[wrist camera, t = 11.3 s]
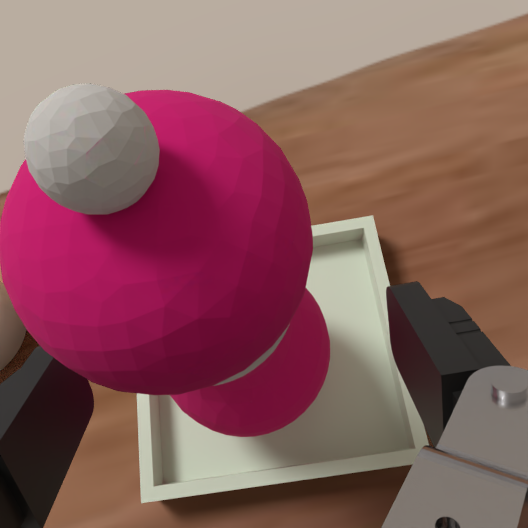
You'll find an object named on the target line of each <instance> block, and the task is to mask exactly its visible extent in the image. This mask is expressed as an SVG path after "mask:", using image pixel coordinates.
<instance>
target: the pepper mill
mask: <svg viewBox="0 0 528 528" xmlns="http://www.w3.org/2000/svg"><path fill="white" fill-rule="evenodd" d="M24 149H25V157H26V160H25V161H24V162H23V164H22V165H21V167H20V169H19V171H18V174H17V176H16V178H15V180H14V182H13V184H12V187H11V189H10V191H9V193H8V195H7V198H6V201H5V205H4V209H3V213H2V217H1V223H0V264H1V271H2V278H3V283H4V286H5V288H6V290H7V293H8V295H9V297H10V300H11V302H12V304H13V307H14V309H15V311H16V313H17V314H18V316H19V318H20V319H21V321H22V323H23V324H24V326H25V328H26V329H27V331H28V332H29V333H30V334H31V336H32V337H33V338H34V339H35V340H36V341H37V343H38V344H39V345H40V346H41V347H42V348H43V350H44V351H46V352H47V353H48V354H50V355H51V356H52V357H54V358H55V359H56V360H58V361H59V362H60V363H62V364H63V365H65V366H66V367H67V368H69V369H71V370H73V371H74V372H76V373H78V374H79V375H81V376H83V377H85V378H86V379H88V380H90V381H91V382H93V383H96V384H99V385H102V386H105V387H108V388H111V389H113V390H116V391H122V392H130V393H139V394H148V395H170V396H171V397H172V398H173V400H174V401H175V402H176V404H177V405H178V406H179V407H180V409H181V410H182V411H183V412H184V413H186V414H187V415H188V416H190V417H191V418H192V419H193V420H195V421H196V422H198V423H199V424H201V425H203V426H205V427H207V428H208V429H210V430H212V431H215V432H218V433H221V434H224V435H229V436H236V437H255V436H259V435H264V434H269V433H271V432H274V431H276V430H279V429H281V428H283V427H285V426H287V425H288V424H290V423H292V422H293V421H295V420H296V419H297V418H298V417H299V416H300V415H302V414H303V413H304V412H305V411H306V410H307V409H308V407H309V406H310V405H311V404H312V403H313V401H314V400H315V399H316V397H317V395H318V393H319V392H320V390H321V388H322V386H323V384H324V381H325V378H326V375H327V372H328V367H329V361H330V338H329V334H328V329H327V325H326V322H325V319H324V316H323V314H322V311H321V309H320V306H319V305H318V303H317V302H316V300H315V298H314V297H313V295H312V294H311V293H310V292H309V291H308V290H307V288H306V283H307V278H308V273H309V268H310V263H311V257H312V252H313V234H312V227H311V221H310V215H309V209H308V204H307V200H306V197H305V194H304V191H303V189H302V186H301V183H300V181H299V178H298V177H297V175H296V173H295V172H294V170H293V168H292V167H291V165H290V163H289V162H288V160H287V158H286V157H285V155H284V153H283V152H282V150H281V148H280V147H279V146H278V145H277V144H276V143H275V142H274V141H273V140H272V139H271V138H270V137H269V136H268V135H267V134H266V133H265V132H264V131H263V130H262V129H261V128H260V127H259V126H258V125H257V124H256V123H255V122H253V121H252V120H251V119H249V118H248V117H246V116H245V115H244V114H242V113H241V112H239V111H238V110H236V109H234V108H233V107H230V106H228V105H226V104H224V103H222V102H220V101H216V100H213V99H210V98H206V97H202V96H199V95H196V94H193V93H189V92H180V91H171V90H146V91H137V92H131V93H125V94H123V93H121V92H118V91H116V90H114V89H112V88H109V87H105V86H100V85H96V84H91V83H90V84H73V85H70V86H67V87H64V88H61V89H58V90H56V91H55V92H53V93H52V94H51V95H50V96H48V97H47V98H46V99H45V100H43V101H42V102H41V103H40V104H38V105H37V107H36V108H35V110H34V111H33V113H32V114H31V116H30V119H29V122H28V125H27V128H26V131H25V134H24Z"/></svg>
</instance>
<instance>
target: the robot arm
mask: <svg viewBox="0 0 528 528" xmlns="http://www.w3.org/2000/svg"><path fill="white" fill-rule="evenodd" d="M386 300H387V311H388V322H389V334H390V343H391V349H392V353H393V357H394V360H395V363H396V366H397V368H398V370H399V372H400V374H401V377H402V379H403V381H404V383H405V385H406V387H407V390H408V392H409V394H410V396H411V398H412V400H413V402H414V405H415V407H416V409H417V411H418V413H419V415H420V418H421V420H422V422H423V424H424V426H425V428H426V430H427V433H428V435H429V437H430V439H431V441H432V443H433V446H434V447H432V446H429V445H425V446H424V447H423V448H422V449H421V450H420V451H419V453H418V455H417V457H416V459H415V461H414V463H413V465H412V467H411V469H410V471H409V473H408V475H407V477H406V479H405V481H404V483H403V485H402V487H401V489H400V491H399V493H398V495H397V497H396V499H395V501H394V503H393V505H392V507H391V509H390V511H389V513H388V515H387V517H386V519H385V521H384V523H383V525H382V527H381V528H528V370H525V369H522V368H518V367H512V366H510V364H509V363H508V362H507V361H506V360H505V358H504V357H503V356H502V355H501V353H500V352H499V351H498V350H497V349H496V347H495V346H494V345H493V344H492V343H491V341H490V340H489V339H488V338H487V337H486V335H485V334H484V333H483V332H481V331H480V328H479V327H478V326H477V324H476V323H475V322H474V321H472V318H471V317H470V316H469V315H468V314H467V312H466V311H465V310H464V309H463V307H462V306H460V305H458V304H456V303H454V302H452V301H450V300H448V299H447V298H445V297H442V298H436V299H431V298H430V297H429V295H428V294H427V293H426V291H425V290H424V289H423V287H422V286H421V284H420V283H419V282H417V281H416V282H411V283H405V284H399V285H393V286H388V287H387V288H386ZM93 408H94V399H93V393H92V389H91V387H90V384H89V382H88V380H87V379H86V378H85V377H83V376H81V375H79V374H78V373H76V372H74V371H73V370H71V369H69V368H67V367H66V366H65V365H63V364H62V363H60V362H59V361H58V360H56V359H55V358H54V357H52V356H51V355H50V354H48V353H47V352H46V351H44V350H43V348H42V347H41V346H38V347H36V348H35V349H34V350H33V352H32V353H31V355H30V356H29V357H28V359H27V360H26V361H25V363H24V364H23V366H22V367H21V368H20V369H18V370H17V371H16V372H15V373H13V374H12V375H11V376H10V377H9V378H7V379H6V380H5V381H4V382H2V383H1V384H0V528H43V526H44V524H45V522H46V520H47V517H48V515H49V513H50V510H51V508H52V506H53V503H54V501H55V499H56V497H57V494H58V492H59V490H60V487H61V485H62V483H63V480H64V478H65V476H66V474H67V471H68V469H69V467H70V464H71V462H72V460H73V457H74V455H75V453H76V451H77V448H78V446H79V444H80V441H81V439H82V437H83V434H84V432H85V430H86V428H87V425H88V423H89V421H90V418H91V416H92V413H93Z"/></svg>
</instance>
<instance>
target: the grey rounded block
mask: <svg viewBox="0 0 528 528" xmlns="http://www.w3.org/2000/svg"><path fill="white" fill-rule="evenodd" d="M25 334H26V328H25V326H24V324H23V323H22V321H21V319H20V318H19V316H18V314H17V313H16V311H15V309H14V307H13V304H12V302H11V300H10V297H9V295H8V293H7V290H6V288H5V286H4V283H2V282H1V281H0V371H1V370H2V369H3V368H4V367H5V366H6V365H8V363H9V362H10V361H11V360H12V359H13V358H14V356H15V355H16V353H17V352H18V350H19V348H20V347H21V345H22V342H23V340H24V337H25Z"/></svg>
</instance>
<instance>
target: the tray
mask: <svg viewBox="0 0 528 528" xmlns="http://www.w3.org/2000/svg"><path fill="white" fill-rule="evenodd" d="M311 227H312V234H313V252H312V257H311V263H310V268H309V273H308V278H307V283H306V288H307V290H308V291H309V292H310V293H311V294H312V295H313V297H314V298H315V300H316V302H317V303H318V305H319V306H320V309H321V311H322V314H323V316H324V319H325V322H326V325H327V329H328V334H329V338H330V361H329V367H328V372H327V375H326V378H325V381H324V384H323V386H322V388H321V390H320V392H319V393H318V395H317V397H316V399H315V400H314V401H313V403H312V404H311V405H310V406H309V407H308V409H307V410H306V411H305V412H304V413H303V414H302V415H300V416H299V417H298V418H297V419H296V420H295V421H293V422H292V423H290V424H288V425H287V426H285V427H283V428H281V429H279V430H276V431H274V432H271V433H269V434H264V435H259V436H255V437H236V436H229V435H224V434H221V433H218V432H215V431H212V430H210V429H208V428H207V427H205V426H203V425H201V424H199V423H198V422H196V421H195V420H193V419H192V418H191V417H190V416H188V415H187V414H186V413H184V412H183V411H182V410H181V409H180V407H179V406H178V405H177V404H176V402H175V401H174V400H173V398H172V397H171V396H170V395H148V394H139V393H137V411H138V437H139V462H140V487H141V503H146V502H153V501H160V500H167V499H174V498H181V497H188V496H195V495H202V494H209V493H216V492H223V491H230V490H237V489H244V488H251V487H258V486H265V485H272V484H279V483H286V482H293V481H300V480H307V479H314V478H321V477H328V476H335V475H342V474H349V473H356V472H363V471H370V470H377V469H384V468H391V467H398V466H405V465H412V464H413V463H414V461H415V459H416V457H417V455H418V453H419V451H420V450H421V449H422V448H423V447H424V446H425V445H429V444H428V439H427V435H426V431H425V427H424V424H423V422H422V420H421V418H420V415H419V413H418V411H417V409H416V407H415V405H414V402H413V400H412V398H411V396H410V394H409V392H408V390H407V387H406V385H405V383H404V381H403V379H402V377H401V374H400V372H399V370H398V368H397V366H396V363H395V360H394V357H393V353H392V349H391V343H390V334H389V322H388V311H387V300H386V288H387V287H388V286H390V284H389V280H388V276H387V272H386V268H385V263H384V259H383V255H382V251H381V247H380V243H379V239H378V235H377V231H376V227H375V223H374V218H373V216H367V217H361V218H355V219H350V220H344V221H338V222H332V223H326V224H320V225H314V226H311Z"/></svg>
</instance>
